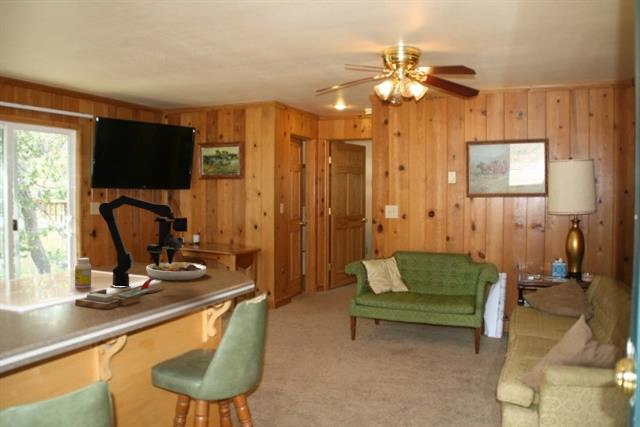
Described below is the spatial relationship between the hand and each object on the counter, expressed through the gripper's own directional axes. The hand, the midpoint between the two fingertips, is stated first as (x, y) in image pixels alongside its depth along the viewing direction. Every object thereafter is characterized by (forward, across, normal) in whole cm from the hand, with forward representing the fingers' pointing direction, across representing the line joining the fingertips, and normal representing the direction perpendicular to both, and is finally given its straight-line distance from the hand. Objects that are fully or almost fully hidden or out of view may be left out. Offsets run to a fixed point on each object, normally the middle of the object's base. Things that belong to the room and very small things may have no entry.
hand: (163, 265), depth 240 cm
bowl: (+11, +27, +12) cm, 32 cm away
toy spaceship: (+11, -18, 0) cm, 21 cm away
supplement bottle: (+10, -19, +29) cm, 36 cm away
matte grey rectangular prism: (+10, -41, -1) cm, 42 cm away
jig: (+10, -37, -1) cm, 38 cm away
